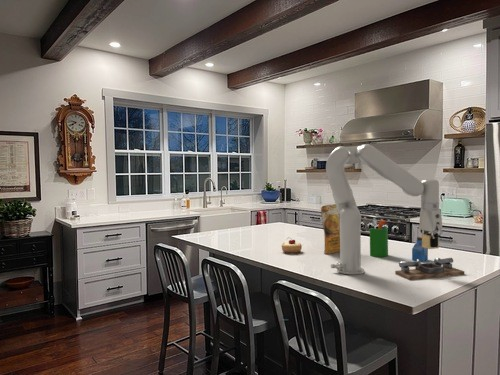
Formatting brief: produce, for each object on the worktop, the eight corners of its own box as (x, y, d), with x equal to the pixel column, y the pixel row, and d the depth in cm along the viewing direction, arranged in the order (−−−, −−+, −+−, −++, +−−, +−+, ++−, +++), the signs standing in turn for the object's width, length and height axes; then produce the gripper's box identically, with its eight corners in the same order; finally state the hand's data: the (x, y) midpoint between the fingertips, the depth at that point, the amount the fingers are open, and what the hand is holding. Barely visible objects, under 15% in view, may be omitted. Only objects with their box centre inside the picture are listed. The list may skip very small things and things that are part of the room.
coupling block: (438, 248, 175) (438, 233, 175) (429, 249, 174) (429, 234, 174) (431, 246, 180) (431, 232, 180) (421, 247, 179) (421, 232, 178)
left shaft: (416, 273, 179) (416, 258, 179) (421, 275, 175) (421, 260, 175) (398, 274, 179) (398, 259, 178) (402, 276, 175) (402, 261, 174)
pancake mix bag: (317, 253, 225) (316, 205, 224) (336, 248, 238) (336, 203, 237) (326, 255, 220) (326, 206, 219) (346, 250, 233) (345, 204, 232)
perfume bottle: (415, 258, 209) (415, 236, 209) (427, 259, 206) (427, 237, 205) (412, 260, 205) (412, 238, 204) (424, 262, 201) (424, 239, 200)
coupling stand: (408, 279, 169) (408, 270, 169) (395, 274, 179) (395, 265, 179) (464, 274, 176) (464, 265, 176) (448, 269, 186) (448, 260, 186)
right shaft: (441, 274, 178) (441, 258, 177) (433, 271, 181) (433, 257, 181) (454, 271, 181) (454, 256, 181) (447, 269, 185) (447, 255, 185)
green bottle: (376, 252, 224) (376, 218, 223) (391, 255, 218) (391, 219, 217) (367, 255, 217) (367, 220, 216) (382, 258, 211) (382, 221, 210)
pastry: (300, 255, 224) (300, 240, 223) (280, 254, 226) (280, 239, 225) (302, 250, 235) (302, 236, 234) (282, 249, 238) (283, 235, 237)
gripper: (450, 207, 169) (450, 248, 169) (424, 204, 185) (424, 242, 186) (436, 208, 167) (436, 250, 168) (410, 205, 183) (411, 243, 184)
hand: (430, 245), depth 177 cm, fingers closed on coupling block, 5 cm apart
